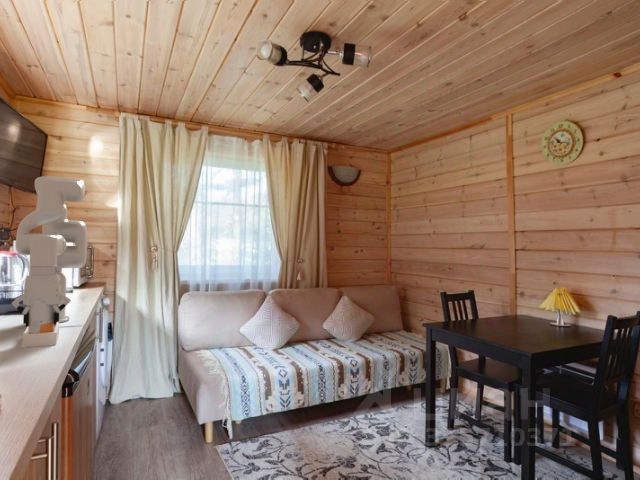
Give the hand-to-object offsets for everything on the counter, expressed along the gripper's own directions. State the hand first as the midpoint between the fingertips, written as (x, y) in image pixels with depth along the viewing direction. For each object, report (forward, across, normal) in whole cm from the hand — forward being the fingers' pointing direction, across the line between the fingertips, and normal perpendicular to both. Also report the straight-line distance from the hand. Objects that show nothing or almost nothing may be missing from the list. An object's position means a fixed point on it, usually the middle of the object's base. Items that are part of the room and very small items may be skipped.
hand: (41, 324), depth 131 cm
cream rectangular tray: (+6, 0, -4) cm, 7 cm away
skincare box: (+3, 0, 0) cm, 3 cm away
